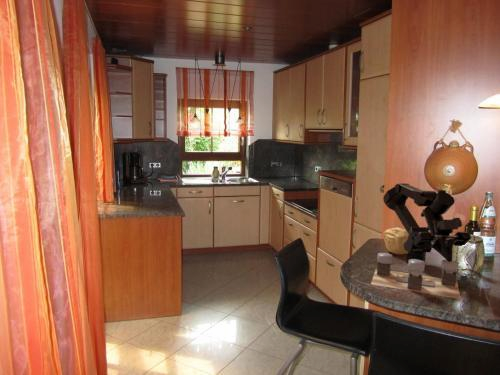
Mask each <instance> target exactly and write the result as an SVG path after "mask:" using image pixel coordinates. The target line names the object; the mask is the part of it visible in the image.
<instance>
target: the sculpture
mask: <svg viewBox="0 0 500 375" xmlns="http://www.w3.org/2000/svg"><path fill="white" fill-rule="evenodd" d="M407 238H408V233H407V231H406V229H405V228H401V227H392V228H388V229H386V230H385V231H383V241H384V244H385V247H386V249H387V250H388V252H390V254H391V253H392V254H395V255H408V251H406V250H404V243H405V242H406V241H407Z"/></svg>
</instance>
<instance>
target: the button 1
mask: <svg viewBox="0 0 500 375" xmlns="http://www.w3.org/2000/svg"><path fill="white" fill-rule="evenodd" d="M376 259H377V260H376V262H377V263H378V262H379V263H381V264H386V265H388V264H391V265H392V263H393V254H391V253H388V252H379V253H377V258H376Z"/></svg>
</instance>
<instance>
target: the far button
mask: <svg viewBox="0 0 500 375" xmlns="http://www.w3.org/2000/svg"><path fill="white" fill-rule="evenodd" d="M425 267H426V261H425V262H424V261H421V260H417V259H410V260H409V262H408V263H407V269H408V270H409V271H411V273H412V276H411V277H416V278H419V275H420V274H421V273H422V272H425Z"/></svg>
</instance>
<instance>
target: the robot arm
mask: <svg viewBox="0 0 500 375" xmlns="http://www.w3.org/2000/svg"><path fill="white" fill-rule="evenodd" d="M408 199H412V200H413V203H414V204H415V205H416V206H418V207H424V209H422V212H421V213H420V217H422V218H423V217H424V219H425V222H426V224H427V226H423V227H422V226H419V224H418V223H417V220H416V219H415V218H414V215H412V213H411V212H410V210H409V209H408V207H407V206H406V203H407V200H408ZM382 200H383V202H384V205H385V206H386V207H387V208H388V209H389V210H392V211H393V212H395V214H396V216H397V218H398V220H399V221H400V222H401V224H402V226H403V227H404V228H403V229H405V230H406V231H407V233H408V238H407V241H406V242H405V243H404V250H406V251H408V253H407V254H406V264H408V262H409V260H410V259H417V260H421V261H424V262H425V263H426V257H427V255H426V254H427V253H431V251H432V249H433V250H434V251H436V252H437V253H438V254H440V255H441V257H443V258H444V260H447V261H448V262H451V261H452V260H453V248H454V247H457V246H462V245H465V244H466V243H467V242H468V241H469V240H472V235H471V233H470V232H469V231H457V232H456V233H455V234H454V235H451V234H452V233H453V232H454V230H459V228H461V227H463V223H462V220H461V218H460V217H454V218H452V219H444V217H443V215H445V214H446V213H447V212H448V211H449V210H450V208H452V207H453V206H454V204H455V202H456V201H455V200H456V199H455V198H454V196H452V195H451V194H450V193H449V192H446V189H439V190H438V192H436V191H434V190H423V189H420V188H418V187H415V186H412V185H411V184H409V183H405V182H404V183H401V182H399V183H396V184H395V185H394V187H392V188H390V189H388V190H387V191H386V192H385V193H384V195H383V199H382ZM469 242H470V241H469ZM469 242H468V243H469Z"/></svg>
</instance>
